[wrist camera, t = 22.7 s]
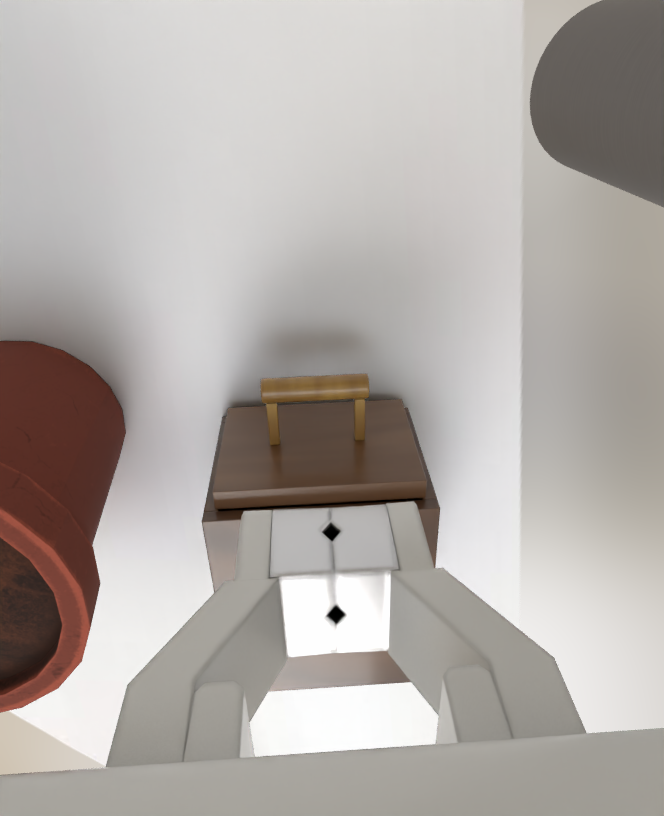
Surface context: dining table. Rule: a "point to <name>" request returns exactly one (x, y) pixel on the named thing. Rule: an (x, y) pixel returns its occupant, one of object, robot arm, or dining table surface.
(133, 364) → the dining table surface
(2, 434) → the potted plant
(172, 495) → the dining table surface
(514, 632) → the robot arm
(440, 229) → the dining table surface
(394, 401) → the drawer
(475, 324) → the dining table surface
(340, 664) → the dresser
